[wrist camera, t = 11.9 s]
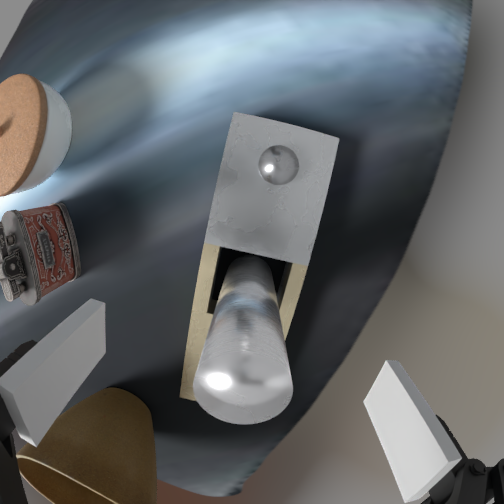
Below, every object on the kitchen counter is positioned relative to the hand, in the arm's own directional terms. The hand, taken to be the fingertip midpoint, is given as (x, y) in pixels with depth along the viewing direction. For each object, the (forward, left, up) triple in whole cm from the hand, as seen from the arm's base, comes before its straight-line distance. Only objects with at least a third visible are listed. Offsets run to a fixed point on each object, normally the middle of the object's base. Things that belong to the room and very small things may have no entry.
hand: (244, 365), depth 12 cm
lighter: (+1, -19, -14) cm, 24 cm away
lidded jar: (-9, -23, -14) cm, 28 cm away
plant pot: (+21, -11, -14) cm, 28 cm away
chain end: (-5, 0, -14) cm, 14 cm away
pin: (0, 0, -14) cm, 14 cm away
